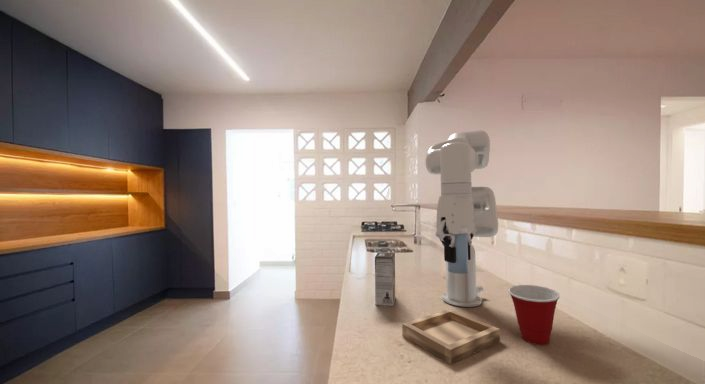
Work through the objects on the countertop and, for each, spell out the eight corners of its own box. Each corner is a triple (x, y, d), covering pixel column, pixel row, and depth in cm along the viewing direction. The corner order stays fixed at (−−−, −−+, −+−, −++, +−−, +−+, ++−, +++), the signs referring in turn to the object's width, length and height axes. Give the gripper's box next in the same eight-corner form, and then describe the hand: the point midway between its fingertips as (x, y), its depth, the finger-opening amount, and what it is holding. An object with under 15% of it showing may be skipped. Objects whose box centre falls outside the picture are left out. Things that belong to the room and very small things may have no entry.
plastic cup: (499, 334, 72) (497, 286, 72) (528, 326, 76) (526, 282, 76) (541, 355, 61) (539, 300, 62) (572, 345, 65) (570, 294, 66)
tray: (449, 319, 81) (449, 309, 81) (499, 341, 68) (499, 328, 68) (402, 335, 71) (402, 323, 71) (450, 364, 58) (450, 349, 58)
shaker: (456, 267, 76) (455, 225, 76) (473, 271, 71) (472, 226, 72) (443, 270, 73) (442, 226, 73) (459, 274, 69) (458, 227, 69)
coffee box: (377, 296, 101) (377, 251, 102) (395, 297, 100) (395, 252, 101) (374, 305, 92) (374, 256, 93) (394, 306, 91) (393, 257, 92)
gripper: (464, 191, 80) (466, 254, 80) (421, 191, 72) (423, 262, 71) (488, 190, 74) (490, 259, 73) (445, 190, 65) (446, 268, 65)
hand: (457, 259), depth 72 cm, fingers closed on shaker, 5 cm apart
